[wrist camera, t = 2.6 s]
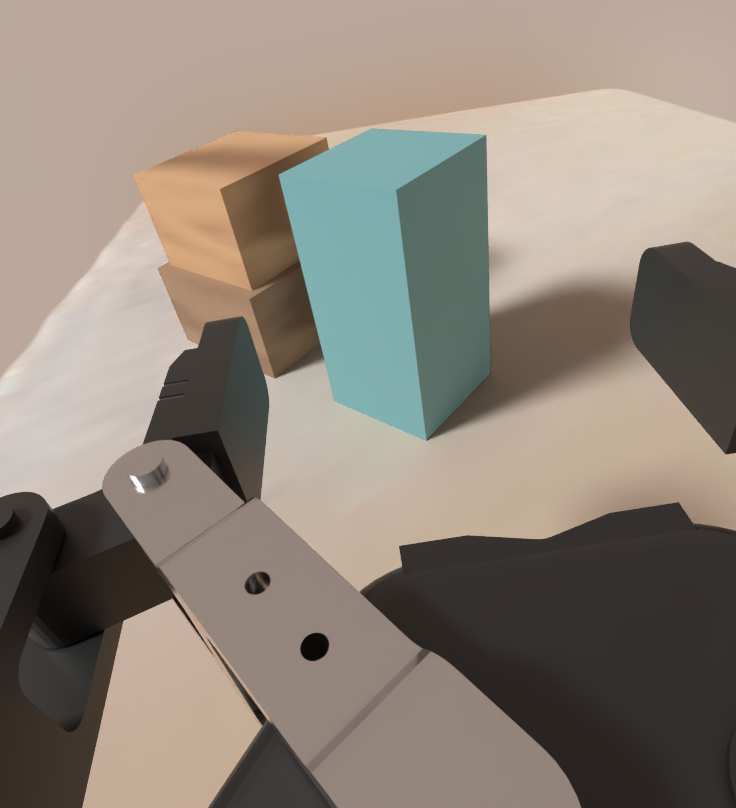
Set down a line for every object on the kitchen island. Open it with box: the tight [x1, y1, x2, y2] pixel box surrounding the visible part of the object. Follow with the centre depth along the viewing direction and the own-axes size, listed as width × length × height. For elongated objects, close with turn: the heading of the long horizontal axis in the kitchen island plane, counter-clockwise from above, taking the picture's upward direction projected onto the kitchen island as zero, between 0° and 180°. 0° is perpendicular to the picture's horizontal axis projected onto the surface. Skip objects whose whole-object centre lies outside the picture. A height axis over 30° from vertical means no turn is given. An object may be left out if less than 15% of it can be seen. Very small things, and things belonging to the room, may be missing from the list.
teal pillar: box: [279, 129, 491, 441], centre depth 24 cm, size 6×6×11 cm
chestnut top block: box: [134, 131, 329, 291], centre depth 30 cm, size 7×7×5 cm
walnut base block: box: [158, 261, 320, 378], centre depth 33 cm, size 8×8×5 cm
